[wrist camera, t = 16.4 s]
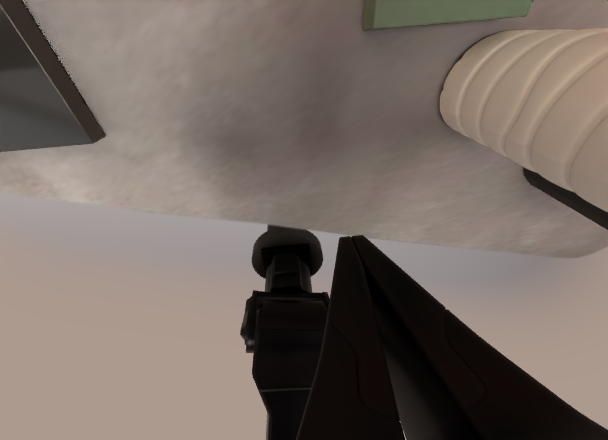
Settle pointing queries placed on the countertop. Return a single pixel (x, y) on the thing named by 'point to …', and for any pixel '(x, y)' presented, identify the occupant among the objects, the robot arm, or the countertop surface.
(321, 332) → the robot arm
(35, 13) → the countertop surface
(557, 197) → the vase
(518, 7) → the green button mount
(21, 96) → the tap base
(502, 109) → the water bottle
